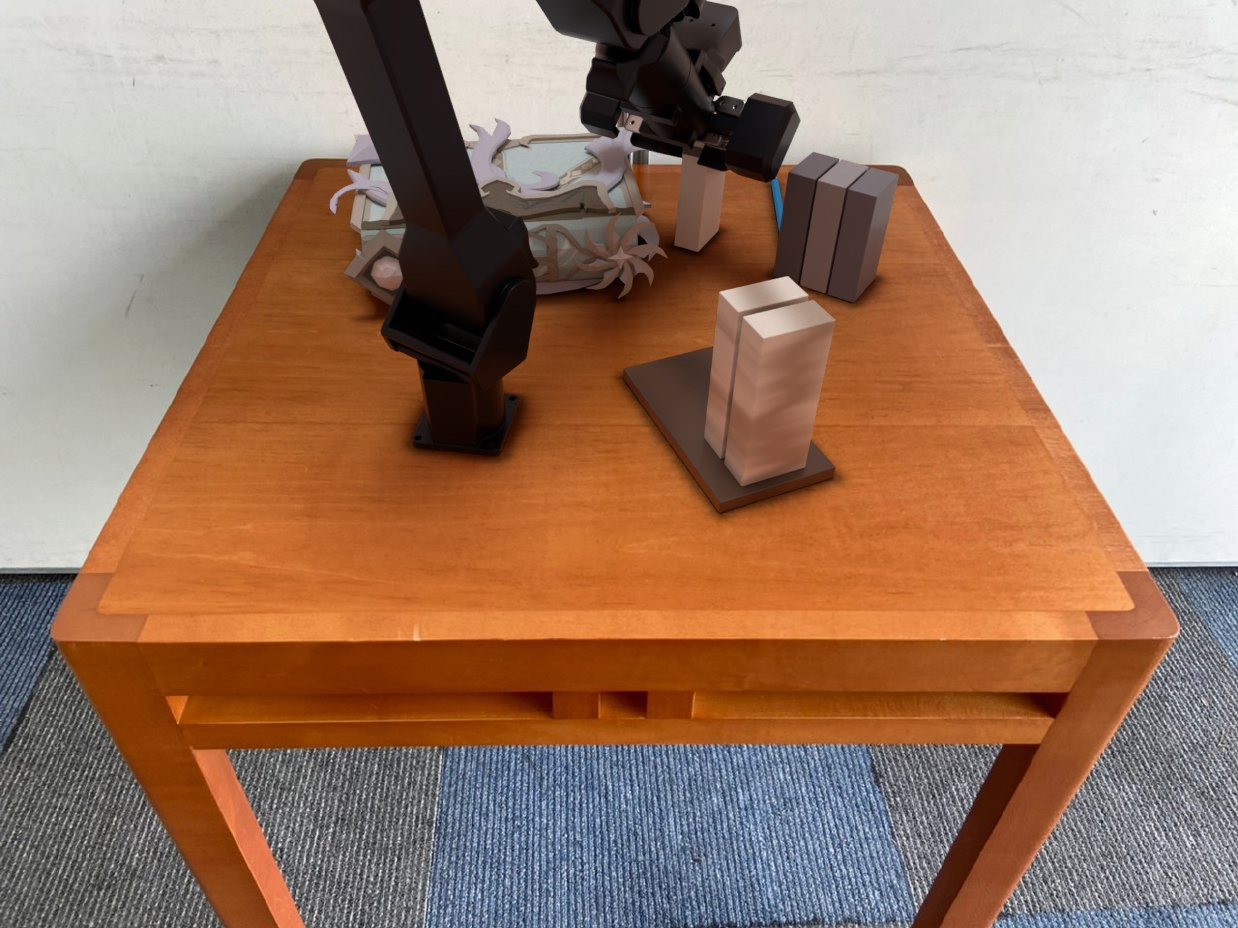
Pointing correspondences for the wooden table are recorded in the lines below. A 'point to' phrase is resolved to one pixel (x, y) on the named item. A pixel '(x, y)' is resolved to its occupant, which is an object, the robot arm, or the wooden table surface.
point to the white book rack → (746, 395)
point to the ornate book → (523, 208)
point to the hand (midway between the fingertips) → (713, 160)
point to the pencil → (777, 200)
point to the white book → (698, 201)
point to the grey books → (834, 225)
